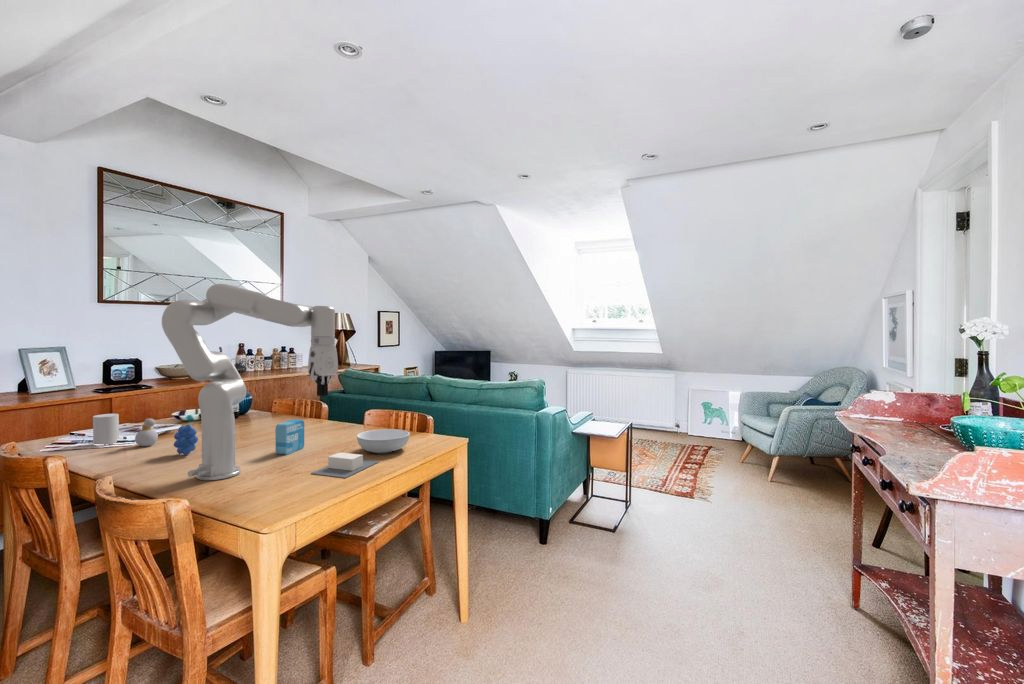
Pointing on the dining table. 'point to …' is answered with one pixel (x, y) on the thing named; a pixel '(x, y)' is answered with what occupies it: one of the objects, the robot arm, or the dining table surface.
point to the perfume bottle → (147, 434)
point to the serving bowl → (383, 440)
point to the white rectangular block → (345, 461)
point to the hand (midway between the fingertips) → (322, 395)
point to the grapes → (185, 439)
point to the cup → (105, 428)
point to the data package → (289, 436)
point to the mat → (344, 473)
